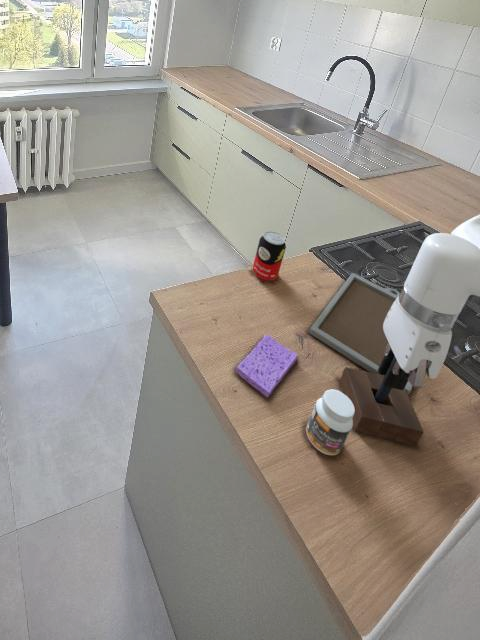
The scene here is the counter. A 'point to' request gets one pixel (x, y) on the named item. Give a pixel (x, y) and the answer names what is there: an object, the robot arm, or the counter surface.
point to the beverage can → (269, 255)
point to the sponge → (266, 365)
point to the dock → (380, 408)
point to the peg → (384, 388)
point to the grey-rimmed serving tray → (357, 322)
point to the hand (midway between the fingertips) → (390, 380)
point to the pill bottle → (330, 422)
